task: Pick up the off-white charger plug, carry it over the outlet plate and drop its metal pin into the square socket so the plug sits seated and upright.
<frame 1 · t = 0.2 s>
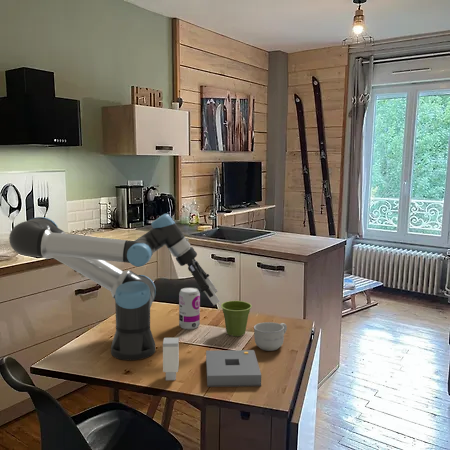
hand: (216, 297, 173), 15 cm above the table, tool tilted 35°, fingers open, 13 cm apart
plant pot: (235, 333, 179), on the table
charger plug: (170, 377, 142), on the table
teacup: (271, 347, 167), on the table
outlet plate: (232, 372, 146), on the table
supplement can: (189, 326, 186), on the table
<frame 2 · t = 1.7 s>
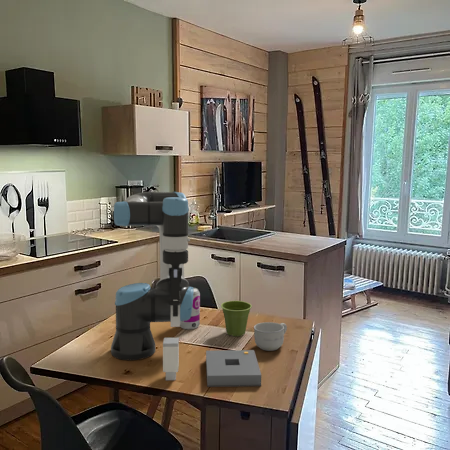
hand: (175, 318, 140), 19 cm above the table, tool pointing down, fingers open, 13 cm apart
nothing on the table moved.
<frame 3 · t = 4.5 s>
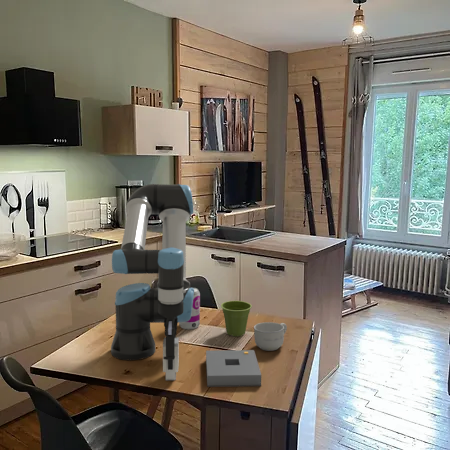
hand: (170, 374, 142), 1 cm above the table, tool pointing down, fingers closed on charger plug, 4 cm apart
charger plug: (170, 377, 142), on the table, touching gripper
everything else where it was.
when the fingers open (5 cm above the table, at t = 9.9 s): charger plug drops 3 cm, resting on outlet plate.
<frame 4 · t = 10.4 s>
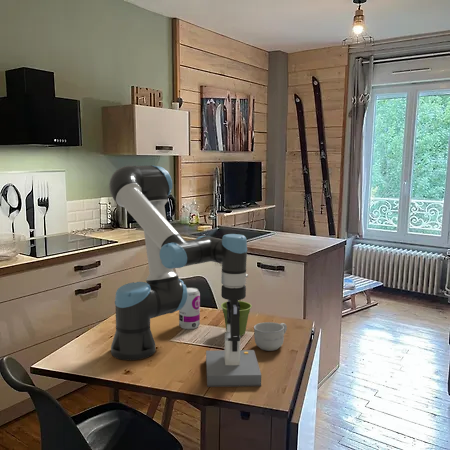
hand: (232, 351, 145), 7 cm above the table, tool pointing down, fingers open, 12 cm apart
charger plug: (231, 371, 146), resting on outlet plate
everything else where it was.
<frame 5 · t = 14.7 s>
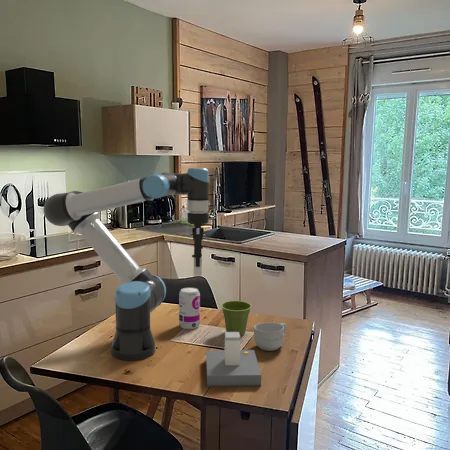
hand: (197, 270, 166), 27 cm above the table, tool pointing down, fingers open, 13 cm apart
nothing on the table moved.
at the end: charger plug 0.1 cm off-centre on the outlet plate, point 0.5 cm above the outlet plate's base; charger plug tilted 0°; the gripper is holding nothing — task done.
